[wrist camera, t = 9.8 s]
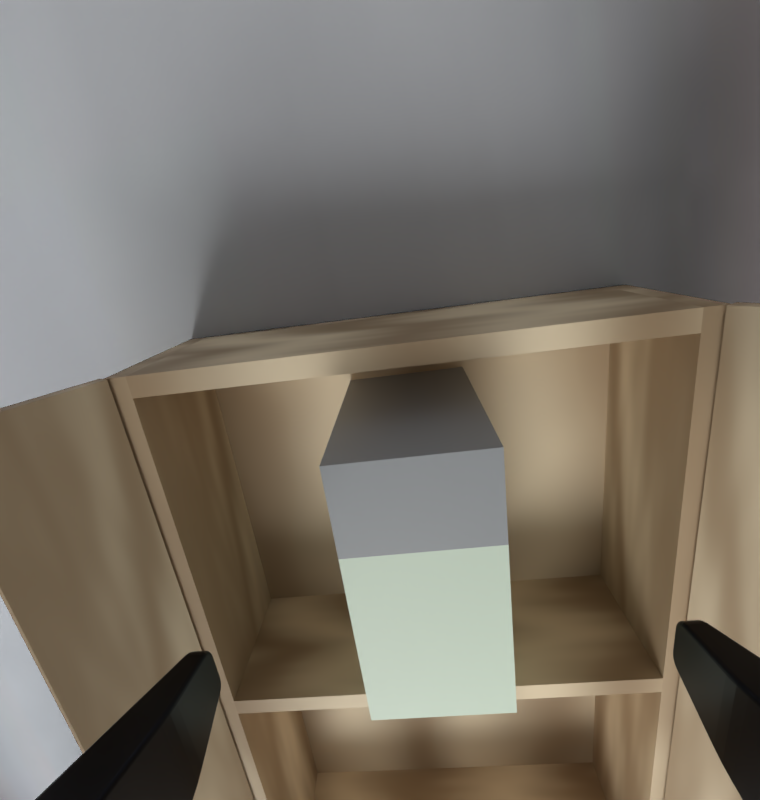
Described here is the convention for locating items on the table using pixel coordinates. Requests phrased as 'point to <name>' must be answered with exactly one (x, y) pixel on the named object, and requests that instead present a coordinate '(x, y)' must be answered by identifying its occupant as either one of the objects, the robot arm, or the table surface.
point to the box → (423, 545)
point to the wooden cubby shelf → (318, 561)
